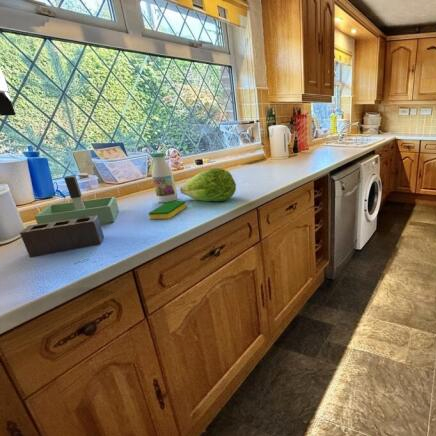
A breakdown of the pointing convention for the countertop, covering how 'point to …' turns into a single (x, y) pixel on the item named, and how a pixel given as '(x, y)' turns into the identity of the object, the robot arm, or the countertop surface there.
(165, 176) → the milk bottle
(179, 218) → the countertop surface
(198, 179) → the lettuce
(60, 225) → the knife rack
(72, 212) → the green tray
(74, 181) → the knife
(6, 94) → the robot arm
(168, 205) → the dish sponge
